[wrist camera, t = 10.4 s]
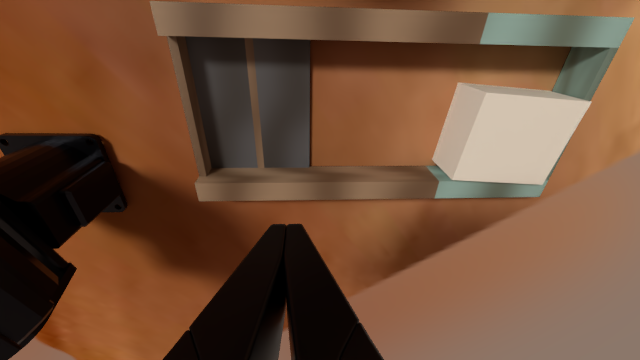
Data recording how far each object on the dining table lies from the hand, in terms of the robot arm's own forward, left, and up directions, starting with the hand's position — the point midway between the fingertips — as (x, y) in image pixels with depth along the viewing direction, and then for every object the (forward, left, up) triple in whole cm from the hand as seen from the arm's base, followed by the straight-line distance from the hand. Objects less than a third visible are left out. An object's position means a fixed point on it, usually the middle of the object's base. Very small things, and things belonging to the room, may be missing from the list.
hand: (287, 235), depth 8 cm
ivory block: (+15, -1, -13) cm, 20 cm away
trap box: (+6, 0, -13) cm, 14 cm away
